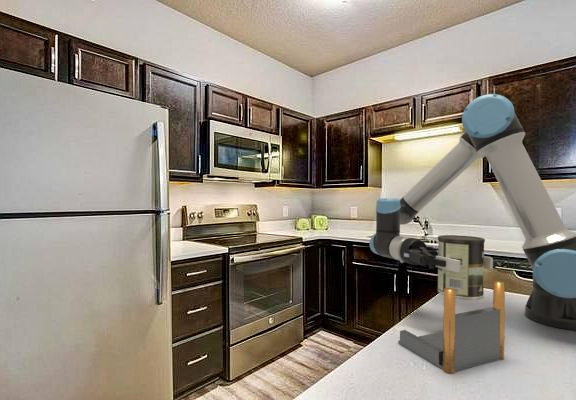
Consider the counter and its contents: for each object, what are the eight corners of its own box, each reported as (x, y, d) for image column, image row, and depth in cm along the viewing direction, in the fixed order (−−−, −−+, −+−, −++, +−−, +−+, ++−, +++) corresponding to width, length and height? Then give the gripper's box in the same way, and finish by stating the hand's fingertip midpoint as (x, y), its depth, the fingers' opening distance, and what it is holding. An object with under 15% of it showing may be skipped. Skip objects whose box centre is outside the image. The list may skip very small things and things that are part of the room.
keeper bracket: (449, 332, 81) (449, 269, 81) (506, 358, 68) (506, 283, 68) (397, 343, 75) (398, 274, 75) (449, 374, 62) (450, 291, 62)
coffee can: (475, 289, 84) (476, 235, 84) (490, 301, 74) (491, 240, 74) (432, 286, 86) (433, 234, 86) (442, 298, 76) (443, 238, 76)
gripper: (437, 260, 101) (508, 276, 80) (377, 265, 93) (439, 285, 72) (437, 236, 101) (508, 246, 80) (377, 239, 93) (439, 251, 72)
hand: (475, 264), depth 76 cm, fingers closed on coffee can, 10 cm apart
